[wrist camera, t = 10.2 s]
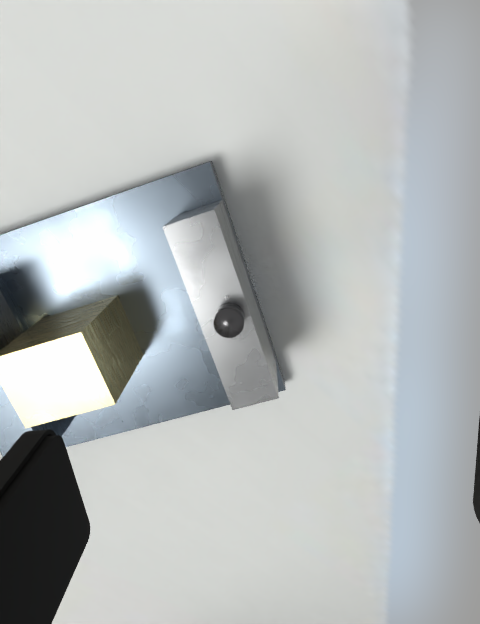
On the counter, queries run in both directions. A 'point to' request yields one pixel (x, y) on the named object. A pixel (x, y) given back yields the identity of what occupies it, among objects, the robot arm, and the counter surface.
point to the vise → (132, 294)
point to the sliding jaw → (224, 303)
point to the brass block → (70, 362)
